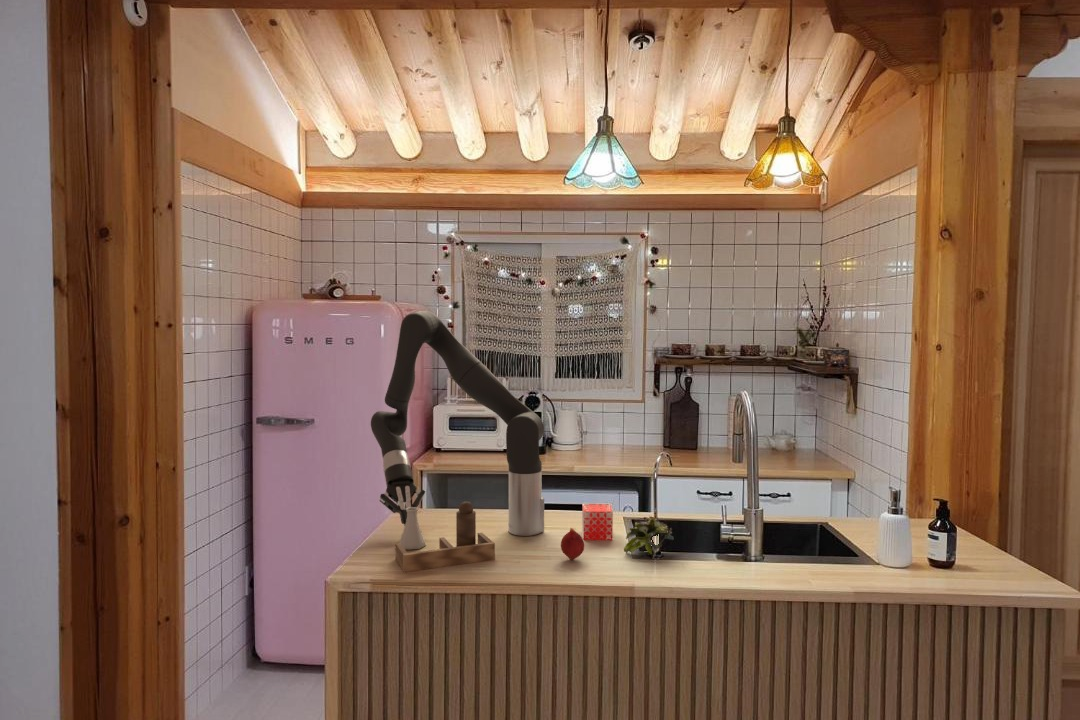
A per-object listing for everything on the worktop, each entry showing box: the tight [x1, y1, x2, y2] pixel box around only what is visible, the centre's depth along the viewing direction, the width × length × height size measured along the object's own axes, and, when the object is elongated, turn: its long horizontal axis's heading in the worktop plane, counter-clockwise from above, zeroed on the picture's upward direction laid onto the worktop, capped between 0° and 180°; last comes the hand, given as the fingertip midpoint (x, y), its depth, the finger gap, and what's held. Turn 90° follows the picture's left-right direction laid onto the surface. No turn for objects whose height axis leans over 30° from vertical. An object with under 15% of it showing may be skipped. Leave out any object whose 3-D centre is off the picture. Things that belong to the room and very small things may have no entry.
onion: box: [560, 527, 585, 561], centre depth 172 cm, size 6×6×8 cm
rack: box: [394, 532, 496, 573], centre depth 173 cm, size 23×10×4 cm, turn 114°
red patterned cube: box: [581, 503, 614, 541], centre depth 192 cm, size 8×8×8 cm
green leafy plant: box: [623, 516, 674, 560], centre depth 177 cm, size 11×11×12 cm
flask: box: [398, 507, 426, 551], centre depth 182 cm, size 7×7×10 cm
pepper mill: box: [455, 500, 477, 547], centre depth 175 cm, size 5×5×14 cm
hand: (407, 524), depth 187 cm, fingers closed
